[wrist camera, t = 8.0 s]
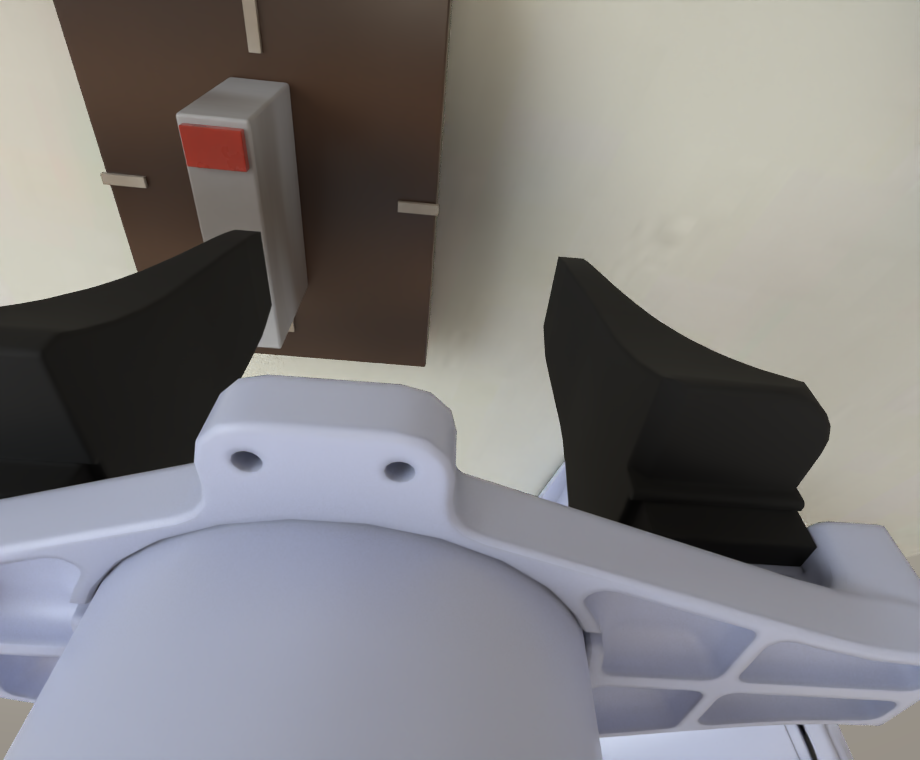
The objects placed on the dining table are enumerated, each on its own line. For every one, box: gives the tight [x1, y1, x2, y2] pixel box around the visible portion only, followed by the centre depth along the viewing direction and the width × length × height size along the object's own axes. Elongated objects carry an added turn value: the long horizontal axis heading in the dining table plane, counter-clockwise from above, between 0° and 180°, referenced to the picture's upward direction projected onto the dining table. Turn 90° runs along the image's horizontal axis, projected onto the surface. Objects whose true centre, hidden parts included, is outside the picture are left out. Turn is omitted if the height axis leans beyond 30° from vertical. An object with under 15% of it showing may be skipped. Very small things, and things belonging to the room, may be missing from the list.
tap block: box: [53, 0, 452, 367], centre depth 20 cm, size 14×11×3 cm
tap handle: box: [176, 77, 308, 349], centre depth 17 cm, size 7×2×4 cm, turn 175°
